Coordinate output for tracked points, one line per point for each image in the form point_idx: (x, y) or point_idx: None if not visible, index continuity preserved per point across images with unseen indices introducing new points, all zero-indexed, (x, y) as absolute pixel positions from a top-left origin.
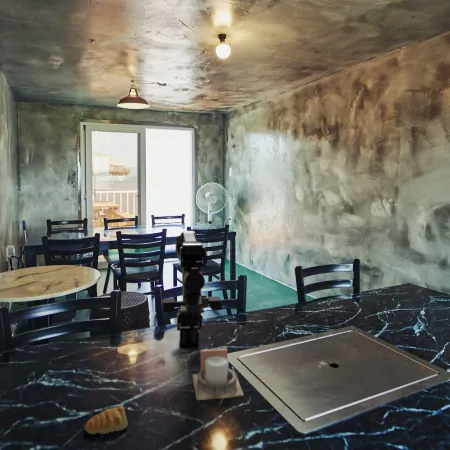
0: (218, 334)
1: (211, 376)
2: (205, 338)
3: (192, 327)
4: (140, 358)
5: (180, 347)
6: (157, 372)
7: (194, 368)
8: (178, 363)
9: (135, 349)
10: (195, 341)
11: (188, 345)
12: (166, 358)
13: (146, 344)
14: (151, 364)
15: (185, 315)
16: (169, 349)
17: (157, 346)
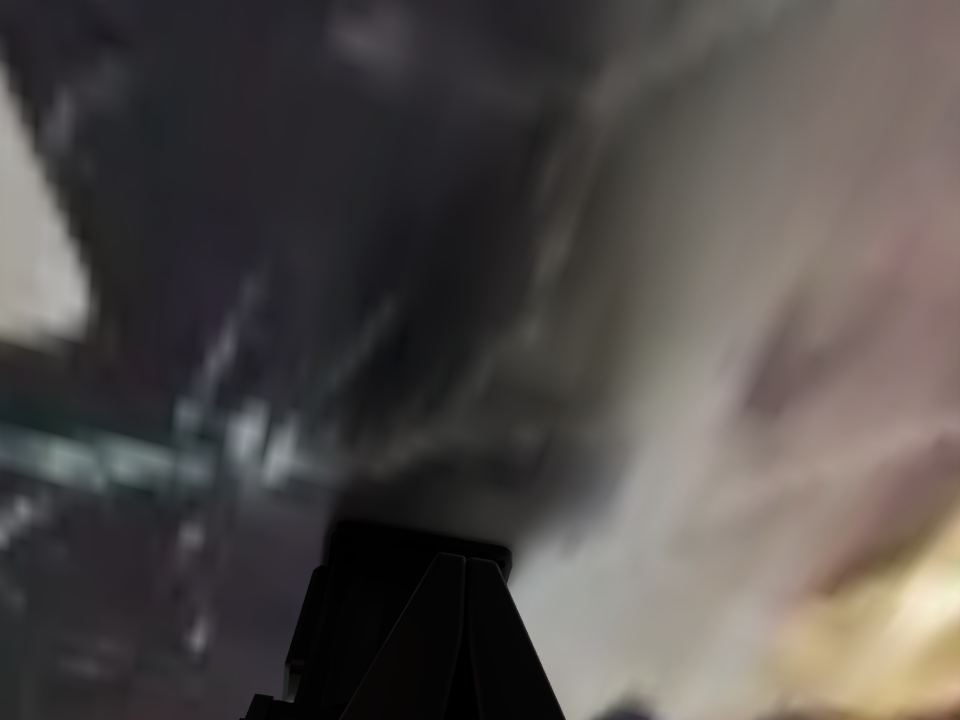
0: (111, 657)
1: None
2: (238, 632)
3: (454, 607)
4: (937, 495)
5: (508, 554)
6: (947, 166)
7: (492, 110)
8: (631, 289)
9: (887, 635)
10: (347, 585)
11: (427, 557)
12: (706, 424)
13: (761, 676)
14: (906, 359)
15: None
16: (610, 560)
17: (690, 628)
